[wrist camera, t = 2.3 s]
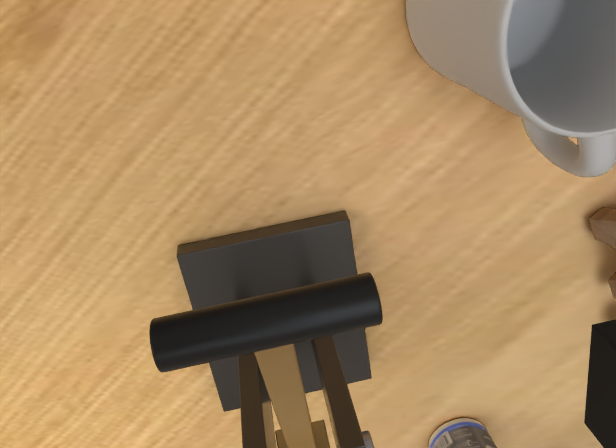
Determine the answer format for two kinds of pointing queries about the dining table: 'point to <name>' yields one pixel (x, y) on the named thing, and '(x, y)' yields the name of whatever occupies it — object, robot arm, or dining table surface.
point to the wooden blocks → (606, 233)
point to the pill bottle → (461, 435)
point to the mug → (532, 68)
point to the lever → (271, 341)
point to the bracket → (269, 279)
